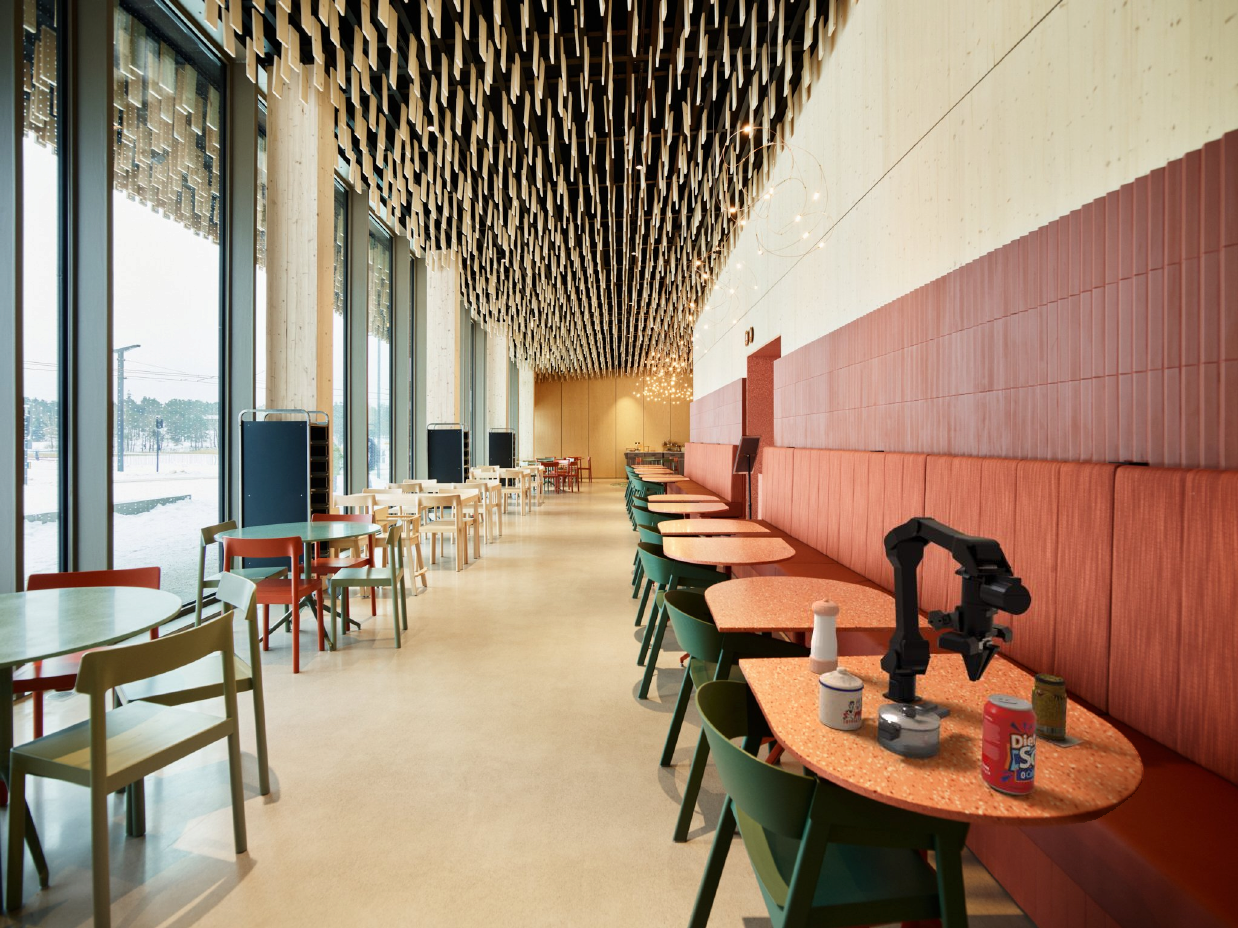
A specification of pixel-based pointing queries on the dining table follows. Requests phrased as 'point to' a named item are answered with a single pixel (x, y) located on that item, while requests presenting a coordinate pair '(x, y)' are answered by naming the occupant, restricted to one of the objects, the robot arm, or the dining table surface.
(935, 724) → the lid
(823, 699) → the teacup with lid
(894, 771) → the dining table surface
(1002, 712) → the soda can
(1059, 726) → the condiment
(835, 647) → the pepper shaker
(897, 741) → the pot
